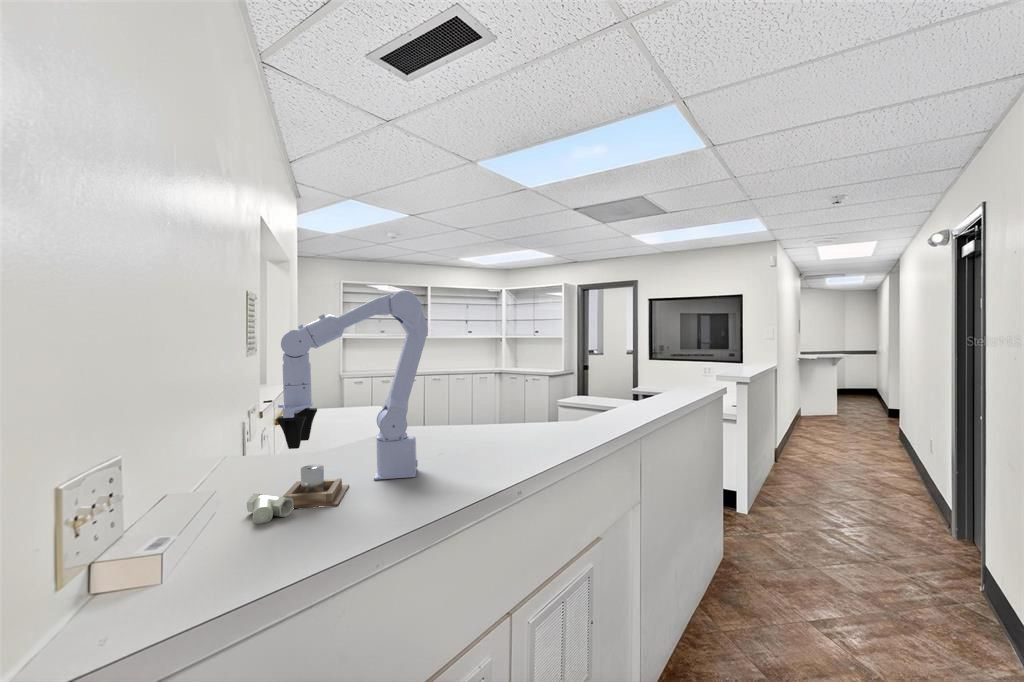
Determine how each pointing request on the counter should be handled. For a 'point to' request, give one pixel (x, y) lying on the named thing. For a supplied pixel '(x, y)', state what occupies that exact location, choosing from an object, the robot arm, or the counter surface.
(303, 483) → the silver metal cylinder
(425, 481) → the counter surface
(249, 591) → the counter surface
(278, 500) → the pipe fitting
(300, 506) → the cradle board
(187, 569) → the counter surface
